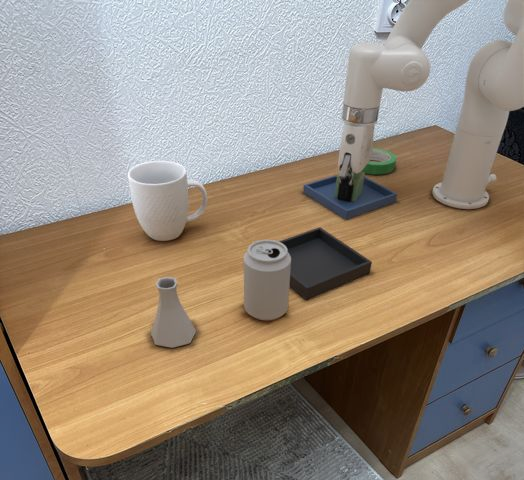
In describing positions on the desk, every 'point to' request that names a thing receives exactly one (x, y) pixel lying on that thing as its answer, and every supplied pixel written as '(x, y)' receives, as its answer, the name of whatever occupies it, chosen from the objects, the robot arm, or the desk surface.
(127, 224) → the desk surface
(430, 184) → the desk surface
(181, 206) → the mug
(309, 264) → the black shallow box
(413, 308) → the desk surface
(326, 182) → the tray
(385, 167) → the tape roll
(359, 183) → the block
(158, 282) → the flask
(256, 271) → the can
